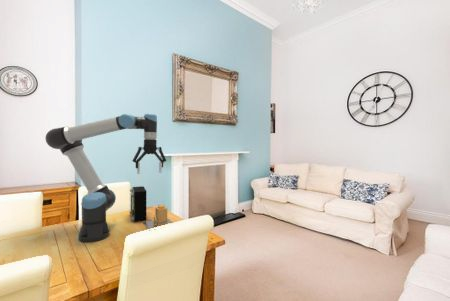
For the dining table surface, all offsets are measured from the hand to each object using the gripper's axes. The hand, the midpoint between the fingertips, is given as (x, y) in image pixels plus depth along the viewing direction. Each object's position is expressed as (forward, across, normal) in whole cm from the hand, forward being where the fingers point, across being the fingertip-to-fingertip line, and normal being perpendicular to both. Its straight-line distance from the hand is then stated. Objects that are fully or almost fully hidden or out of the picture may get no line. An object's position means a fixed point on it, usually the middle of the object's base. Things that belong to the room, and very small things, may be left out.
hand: (149, 173), depth 145 cm
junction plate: (+33, +6, -1) cm, 34 cm away
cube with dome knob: (+32, +9, +3) cm, 34 cm away
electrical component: (+34, -2, +19) cm, 39 cm away
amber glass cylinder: (+33, +3, -4) cm, 34 cm away
